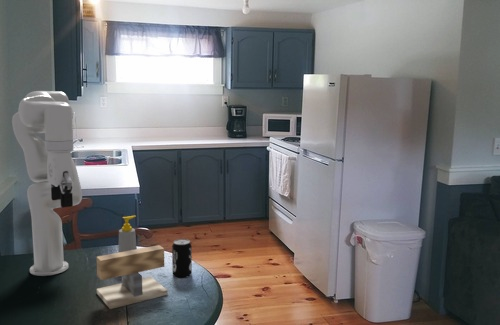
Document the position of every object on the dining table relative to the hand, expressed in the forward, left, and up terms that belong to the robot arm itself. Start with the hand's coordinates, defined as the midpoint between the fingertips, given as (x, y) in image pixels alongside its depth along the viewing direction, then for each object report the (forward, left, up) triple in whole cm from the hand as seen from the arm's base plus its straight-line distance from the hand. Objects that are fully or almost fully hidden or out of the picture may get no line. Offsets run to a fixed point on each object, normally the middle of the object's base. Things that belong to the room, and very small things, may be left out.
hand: (61, 203), depth 137 cm
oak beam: (+9, +17, -22) cm, 29 cm away
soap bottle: (-16, +25, -30) cm, 42 cm away
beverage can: (+4, +37, -30) cm, 48 cm away
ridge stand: (+9, +17, -29) cm, 35 cm away
